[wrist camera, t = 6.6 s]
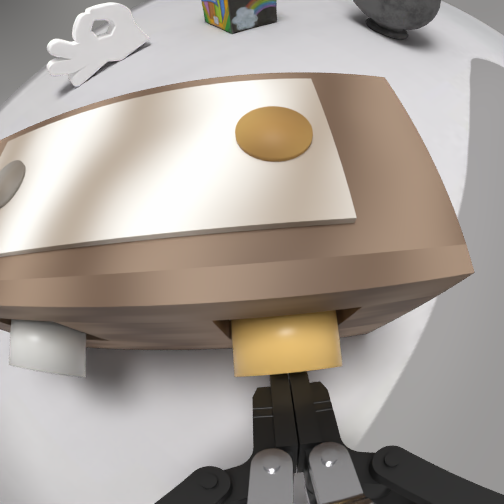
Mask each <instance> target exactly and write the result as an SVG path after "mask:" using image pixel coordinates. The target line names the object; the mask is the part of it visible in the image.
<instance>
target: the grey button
mask: <svg viewBox="0 0 504 504" xmlns="http://www.w3.org/2000/svg"><path fill="white" fill-rule="evenodd" d="M9 365H11V366H15V367H19V368H24V369H29V370H34V371H40V372H46V373H52V374H59V375H67V376H75V377H86V369H85V365H86V333H84V332H81V331H78V330H75V329H72V328H70V327H67V326H64V325H61V324H59V323H56V322H51V321H33V320H17V319H12V320H11V332H10V347H9Z"/></svg>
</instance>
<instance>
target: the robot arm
mask: <svg viewBox="0 0 504 504" xmlns="http://www.w3.org/2000/svg"><path fill="white" fill-rule="evenodd" d="M253 444H254V448H253V453H252V455H251V457H250V458H249V460H248V461H247V462H245V463H244V464H242V465H240V466H237V467H234V468H230V469H227V470H222V469H220V468H218V467H213V466H207V467H202V468H199V469H197V470H196V471H194V472H193V473H192V474H191V475H190V476H188V477H187V478H186V479H185V480H184V481H183V482H181V483H180V484H179V485H178V486H176V487H175V488H174V489H173V490H171V491H170V492H169V493H168V494H166V495H165V496H164V497H163V498H161V499H160V500H159V501H157V502H156V503H155V504H293V479H294V473H296V465H297V473H298V472H304V478H305V485H304V489H305V493H306V498H307V502H308V504H504V495H502V494H500V493H497V492H494V491H492V490H490V489H487V488H484V487H482V486H480V485H477V484H475V483H473V482H470V481H468V480H466V479H464V478H461V477H459V476H457V475H455V474H452V473H450V472H448V471H446V470H444V469H442V468H440V467H438V466H435V465H434V464H432V463H430V462H428V461H426V460H424V459H422V458H420V457H418V456H416V455H414V454H412V453H410V452H408V451H407V450H405V449H403V448H401V447H398V446H386V447H384V448H381V449H380V450H378V451H377V452H376V453H368V452H367V453H366V452H357V451H353V450H351V449H349V448H348V447H346V446H345V445H344V444H343V442H342V440H341V438H340V434H339V430H338V426H337V423H336V419H335V415H334V411H333V408H332V404H331V402H330V397H329V393H328V390H327V389H326V387H325V386H324V385H323V384H322V383H321V382H312V383H309V379H308V374H307V371H302V372H293V373H283V374H272V375H270V387H259V388H257V390H256V392H255V394H254V396H253Z"/></svg>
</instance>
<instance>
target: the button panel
mask: <svg viewBox="0 0 504 504" xmlns="http://www.w3.org/2000/svg"><path fill="white" fill-rule="evenodd" d="M473 273H474V269H473V266H472V262H471V259H470V255H469V252H468V249H467V245H466V242H465V240H464V236H463V233H462V231H461V227H460V225H459V222H458V219H457V216H456V214H455V211H454V208H453V206H452V203H451V201H450V198H449V196H448V193H447V191H446V189H445V186H444V184H443V182H442V180H441V177H440V175H439V173H438V171H437V169H436V166H435V164H434V162H433V160H432V158H431V156H430V154H429V152H428V150H427V148H426V146H425V144H424V142H423V140H422V138H421V136H420V135H419V133H418V131H417V129H416V127H415V126H414V124H413V122H412V120H411V119H410V117H409V115H408V113H407V112H406V110H405V108H404V107H403V105H402V103H401V102H400V100H399V99H398V97H397V95H396V94H395V92H394V91H393V89H392V88H391V86H390V85H389V83H388V82H387V80H386V79H385V77H376V76H367V75H355V74H339V73H264V74H249V75H236V76H226V77H217V78H209V79H202V80H195V81H188V82H182V83H176V84H171V85H166V86H161V87H156V88H151V89H146V90H142V91H138V92H133V93H129V94H125V95H121V96H118V97H114V98H110V99H107V100H103V101H100V102H96V103H93V104H90V105H87V106H84V107H81V108H78V109H75V110H72V111H69V112H66V113H63V114H61V115H58V116H55V117H53V118H50V119H47V120H45V121H42V122H40V123H37V124H35V125H33V126H30V127H28V128H26V129H23V130H21V131H19V132H17V133H15V134H13V135H10V136H8V137H6V138H4V139H2V140H0V329H1V330H4V331H7V332H11V320H12V319H17V320H33V321H51V322H56V323H59V324H61V325H64V326H67V327H70V328H72V329H75V330H78V331H81V332H84V333H86V347H89V348H107V349H134V350H193V349H222V348H233V343H232V325H231V320H232V319H247V318H260V317H273V316H284V315H295V314H305V313H314V312H323V311H332V310H336V316H337V323H338V331H339V338H341V337H348V336H355V335H361V334H367V333H369V332H371V331H373V330H375V329H377V328H379V327H381V326H383V325H385V324H387V323H389V322H391V321H393V320H395V319H397V318H399V317H400V316H402V315H404V314H406V313H408V312H410V311H412V310H413V309H415V308H417V307H419V306H421V305H422V304H424V303H426V302H428V301H429V300H431V299H433V298H434V297H436V296H438V295H440V294H441V293H443V292H445V291H446V290H448V289H449V288H451V287H453V286H454V285H456V284H457V283H459V282H461V281H462V280H464V279H465V278H467V277H468V276H470V275H471V274H473Z"/></svg>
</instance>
